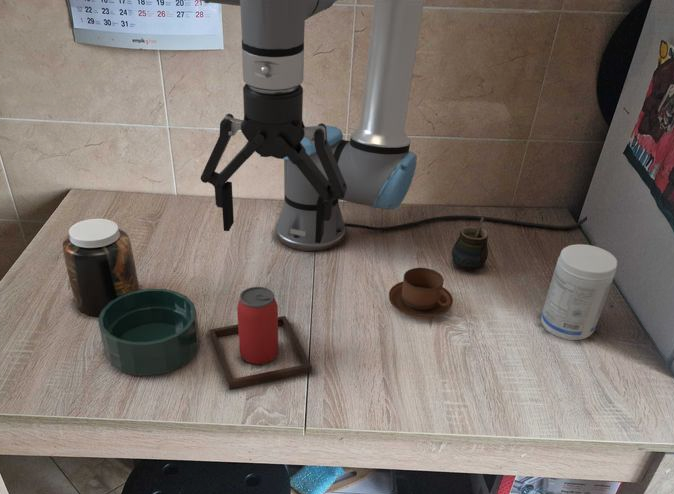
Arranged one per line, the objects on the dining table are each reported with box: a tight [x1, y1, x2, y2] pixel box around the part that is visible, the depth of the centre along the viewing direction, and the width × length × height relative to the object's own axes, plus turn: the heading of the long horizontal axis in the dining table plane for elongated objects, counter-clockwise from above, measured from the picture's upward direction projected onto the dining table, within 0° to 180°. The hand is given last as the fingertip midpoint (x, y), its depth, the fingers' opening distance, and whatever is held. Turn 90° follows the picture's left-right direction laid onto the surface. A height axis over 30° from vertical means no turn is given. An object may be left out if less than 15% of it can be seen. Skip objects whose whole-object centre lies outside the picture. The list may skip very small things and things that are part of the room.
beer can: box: [236, 286, 279, 365], centre depth 107 cm, size 7×7×12 cm
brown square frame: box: [208, 315, 313, 391], centre depth 111 cm, size 14×15×2 cm
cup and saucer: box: [388, 267, 454, 319], centre depth 121 cm, size 12×12×6 cm
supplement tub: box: [540, 243, 618, 341], centre depth 114 cm, size 10×10×15 cm
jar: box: [62, 218, 140, 318], centre depth 118 cm, size 12×12×15 cm
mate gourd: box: [451, 215, 489, 273], centre depth 132 cm, size 7×8×10 cm
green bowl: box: [97, 288, 201, 376], centre depth 109 cm, size 16×16×7 cm
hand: (273, 232), depth 95 cm, fingers open, 13 cm apart
